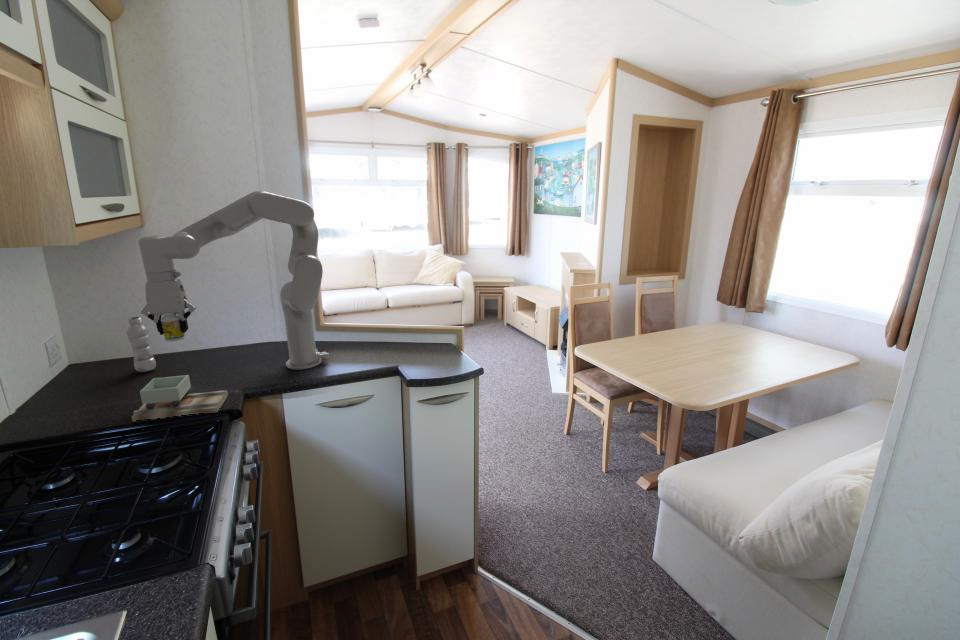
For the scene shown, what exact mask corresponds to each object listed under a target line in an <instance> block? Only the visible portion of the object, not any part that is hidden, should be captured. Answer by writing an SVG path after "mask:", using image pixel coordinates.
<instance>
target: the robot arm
mask: <svg viewBox="0 0 960 640" xmlns="http://www.w3.org/2000/svg"><path fill="white" fill-rule="evenodd" d="M314 217H315V211H314V209H313V207H312V206H311V205H310V204H309V203H308V202H306V201H303V200H301V199H295V198H292V197H288V196H283V195H280V194H279V195H278V194H275V193H272V192H268V191H265V190H257V191H256V190H255V191H252V192H249V193H248V194H245V196H242V197H241V198H238V199H237V200H235V201H234V202H233V201H232V203H229V204H227V205H226V206H223V207H222V208H220V209H218V210H216V211H214V212H213V213H211V214H209V215H207V216H206V217H203V218H202V219H200V220H198V221H195V222H194V223H192V224H190V225H188V226H186V227H185V228H183V229H180V230H179V231H177V232H175V233H174V234H173V235H171V236H165V235H147V236H142V237H140V238H139V239H138V246H139V251H140V255H141V259H142V263H143V268H144V273H145V276H146V280H147V281H146V282H145V285H144V286H145V287H144V289H145V292H144V293H145V301H146V304H145V305H144V307H143V309H141V311H140V315H141V314H142V315H143V316H145V317H147V318H148V319H150V320H151V321H152V322H153V324H155V325H156V330H157V332H158V333H159V336H162V335H163V336H164V332H163V328H162V324H161V318H162V317H163V316H162V314H163V313H177V315H178V316H179V318H180V320H181V321H180V322H179V323H180V327H181V332H182V333H184V334H186V332H187V331H188V329H189V324H188V318H190V315H191V314H192V313H194V312H195V310H197V307H196V306H195V305H194V304H193V303H191V302H190V301H189V300H188V297H187V293H186V290H185V287H184V284H183V282H182V280H181V279H180V278H178V277H181V276H182V272H180V271H176V269H175V263H174V260H175V259H176V260H189V259H193V258H195V257H197V256H198V255H199V253H200V251H201V248H203V247H205V246H206V245H208V244H211V243H212V242H214V241H217V240H218V239H222V238H227V237H232V236H233V235H236V234H238V233H240V232H241V231H243V230H245V229H246V228H248V227H250V226H252V225H255V223H257V222H259V221H260V220H263V219H264V220H269V221H274V222H276V223H277V222H278V223H283V224H286V225H289V226H290V228H291V231H292V242H291V247H290V251H289V252H290V253H289V257H288V261H287V262H288V263H287V269H288V272H289V273H290V275H292V280H290V281H288V282H286V283H284V284H283V286H282V287H281V289H280V294H279V295H280V298H279V299H280V302H281V303H280V304H281V307H282V311H283V316H284V324H285V332H286V333H285V334H286V339H287V348H288V356H289V359H288V360H287V361H286V362H285V367H286V368H288V369H290V370H300V371H301V370H307V369H311V368H315V367H317V366H319V365H320V364H321V363H322V359H329V358H330V353H329V352H326V351H322V352H320V351H318V348H317V347H316V339H315V330H314V321H313V320H314V319H313V314H312V313H313V312H312V310H313V309H314V308H315V307H316V305H317V302H318V299H319V296H320V291H321V283H322V281H323V280H322V279H323V271H324V270H323V265H322V262H321V260H320V259H318V257H317V251H318V244H319V230H318V227H317V223H316V221H315V218H314ZM185 309H188V310H187V311H185Z"/></svg>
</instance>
